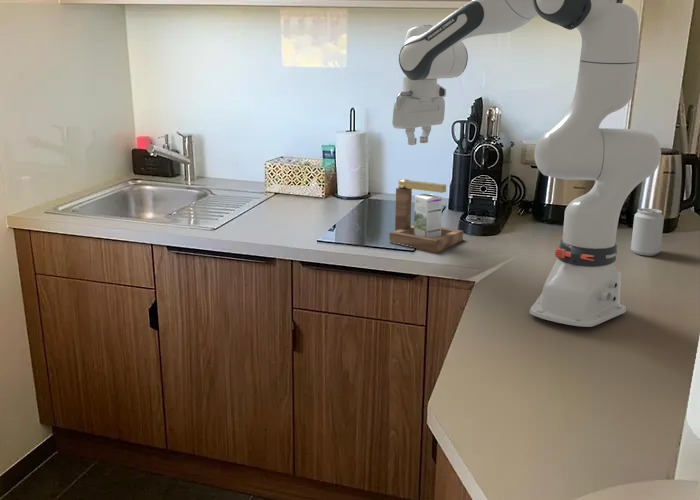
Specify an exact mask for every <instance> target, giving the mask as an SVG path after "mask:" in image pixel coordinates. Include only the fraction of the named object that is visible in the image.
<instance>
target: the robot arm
mask: <svg viewBox="0 0 700 500" xmlns="http://www.w3.org/2000/svg"><path fill="white" fill-rule="evenodd" d="M623 2H624V0H470V1H469V2H466V4H463V6H461V7H459V8H458V9H456V10H455V11H454V12H452V13H450V14H449V15H448V16H446V17H445V18H443V19H442V20H441V21H440V22H438V23H437V24H436V25H432V24H424V25H423V24H422V25H416V26H412V27H411V28H409V29H408V30H407V32H406V35H405V39H404V44H403V45H402V46H401V49H400V51H399V55H398V63H399V67H400V69H401V70H402V73H403V77H402V91H400V92H399V94H398V95H397V96H396V99H395V102H394V104H393V105H394V106H393V109H392V110H393V112H392V123H391V125H392V126H393V128H394V129H397V130H398V129H400V130H405V135H406V137H407V144H408V145H409V146H414V145H417V141H418V140H417V137H415V132H416V128H421V130H422V132H421V136H419V143H420V144H427V143H429V136H430V134H431V132H432V126H438V125H442V124H443V122H444V120H445V110H446V109H445V108H446V106H445V105H446V101H445V97H446V96H447V90H446V88H445V87H443V86H441V85H440V84H439V83H438V80H439V79H453V78H458V77H459V76H461V75H462V74H463V73H464V71H465V70H466V67H467V66H468V58H469V57H468V56H469V55H468V50H467V47H466V45H465V44H464V43H463V42H464V41H465V40H467V39H470V38H472V37H478V36H483V35H496V34H505V33H506V34H507V33H510V32H513V31H515V30H517V29H519V28H521V27H523V26H524V25H526V24H527V23H529V22H530V21H531V20H533V19H534V18H535V17H537V16H539V17H541V18H542V19H543V20H545V21H546V22H550V23H552V24H554V25H557V26H560V27H562V28H564V29H566V30H569V31H572V30H574V29H577V31H578V32H579V33H580V36H581V49H580V57H579V64H578V65H579V66H578V74H577V78H576V79H577V80H576V86H575V90H574V94H573V98H572V101H571V103H570V105H569V107H568V110H566V112H565V114H564V115H563V117H562V118H560V120H559V121H558V122H557V123H556V124H554V125H553V126H552V127H551V128H549V129H548V130H546V131H545V132H544V133H542V135H541V136H540V137H539V138H538V140H537V141H536V144H535V149H534V152H533V153H534V155H533V156H534V161H535V165H536V167H537V168H538V171H539V172H540V173H541V174H542V175H543V176H546V177H550V178H554V179H560V180H566V181H567V180H570V181H572V180H573V181H575V180H576V181H594V185H593V187H592V188H591V189H590V190H589V191H588V192H586V193H585V194H582V195H581V196H578V197H575V198H574V199H572V201H570V202H569V203H568V205H567V206H566V208H565V210H564V217H563V218H564V220H563V231H562V239H561V240H560V243H559V246H558V247H556V248H555V250H554V257H555V258H557V260H556V261H555V262H554V265H553V267H552V268H551V270H550V272H549V274H548V276H547V279H546V280H545V283H544V284H543V288H542V292H541V294H540V295H538V298H537V299H536V301H534V302H533V304H532V306H530V308H529V314H530V315H533V316H534V317H537V318H539V319H542V320H547V321H551V322H554V323H558V324H564V325H569V326H575V327H587V328H588V327H589V328H592V327H594V326H597V325H600V324H603V323H604V322H606V321H608V320H611V319H613V318H614V319H615V317H618V316H620V315H622V314H623V315H624V314H625V313H626V312H627V307H626V306H625V305H623V304H622V303H621V285H622V284H621V281H622V273H621V272H620V270H619V269H618V268H617V266H616V264H615V262H616V261H617V255H618V249H617V248H618V244H616V240H617V239H616V238H617V232H618V225H619V218H620V216H621V211H622V209H623V205H624V204H625V202H626V200H627V199H628V196H629V195H630V194H631V192H633V191H634V189H635V188H636V187H637V186H639V184H641V183H642V182H644V181H645V180H646V179H647V178H649V177H651V176H652V175H653V174H654V173H655V172H656V170H657V169H658V167H659V165H660V162H661V159H662V158H661V157H662V149H661V145H660V142H659V141H658V139H657V138H656V136H655V135H654V134H653V133H651V132H647V131H643V130H639V129H638V130H637V129H634V128H602V127H600V126H601V123H602V122H603V120H604V119H605V118H607V116H609V115H611V114H612V113H615V112H618V111H619V110H621V109H623V108H624V107H625V106H626V105H628V104H629V102H630V101H631V99H632V98H633V95H634V88H635V81H636V73H637V67H638V66H637V65H638V58H639V57H638V56H639V48H640V47H639V46H640V44H639V43H640V27H639V16H638V13H637V11H636V10H635V9H634V8H633V7H632V6H630V5H628V4H627V3H626V4H625V3H623ZM462 41H463V42H462Z"/></svg>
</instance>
